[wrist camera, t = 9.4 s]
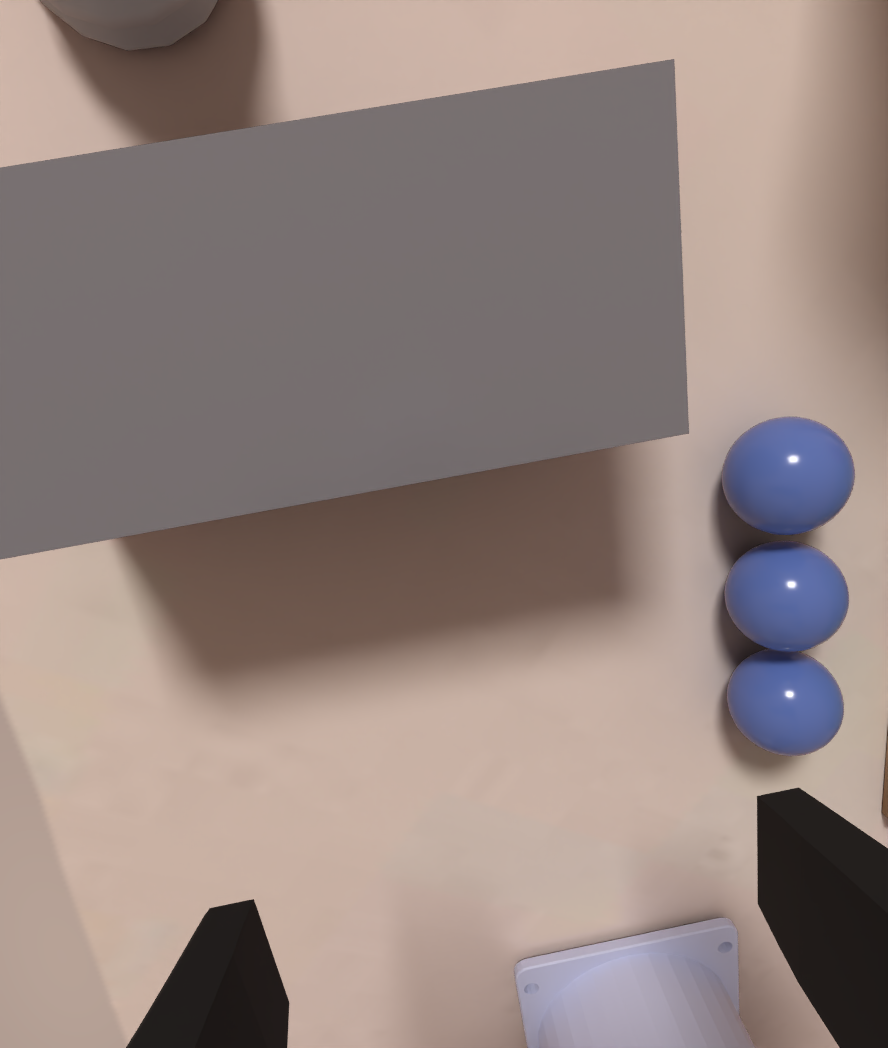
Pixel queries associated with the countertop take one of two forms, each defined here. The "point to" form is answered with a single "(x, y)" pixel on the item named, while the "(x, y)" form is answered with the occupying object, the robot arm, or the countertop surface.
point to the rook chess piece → (133, 20)
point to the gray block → (338, 306)
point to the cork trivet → (885, 787)
